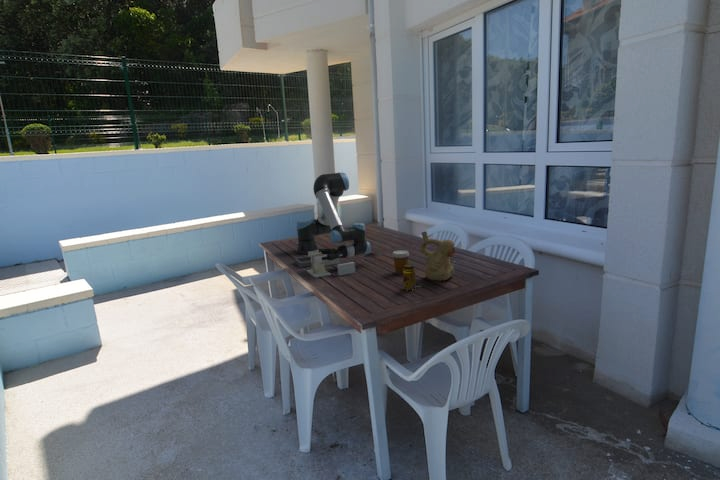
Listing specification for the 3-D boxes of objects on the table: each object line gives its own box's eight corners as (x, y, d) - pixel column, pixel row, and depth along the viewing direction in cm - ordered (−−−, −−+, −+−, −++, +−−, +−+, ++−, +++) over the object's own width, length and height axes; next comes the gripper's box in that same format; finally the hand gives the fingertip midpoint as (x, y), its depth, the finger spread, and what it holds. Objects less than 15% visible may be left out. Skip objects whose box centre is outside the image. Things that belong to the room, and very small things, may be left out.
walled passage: (323, 265, 267) (323, 255, 266) (338, 262, 271) (337, 253, 269) (339, 275, 244) (338, 265, 242) (355, 272, 248) (354, 262, 246)
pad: (306, 270, 257) (306, 270, 257) (321, 267, 261) (321, 267, 261) (314, 277, 243) (314, 277, 243) (331, 274, 247) (331, 274, 247)
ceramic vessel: (450, 284, 219) (449, 236, 213) (415, 279, 229) (413, 234, 223) (461, 274, 233) (461, 230, 227) (427, 270, 243) (426, 227, 237)
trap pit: (294, 262, 276) (294, 258, 275) (315, 259, 281) (315, 254, 280) (301, 268, 263) (300, 263, 262) (322, 264, 269) (322, 259, 268)
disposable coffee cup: (398, 276, 237) (398, 255, 234) (389, 272, 245) (389, 251, 242) (413, 272, 241) (412, 252, 238) (403, 268, 249) (403, 249, 247)
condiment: (400, 289, 216) (399, 266, 214) (409, 284, 223) (408, 262, 220) (412, 291, 212) (411, 268, 209) (421, 286, 218) (420, 264, 215)
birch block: (312, 271, 254) (310, 253, 251) (321, 270, 256) (320, 252, 253) (315, 274, 248) (313, 256, 246) (325, 272, 251) (323, 254, 248)
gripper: (354, 261, 246) (319, 268, 238) (338, 252, 269) (306, 258, 260) (353, 249, 245) (318, 255, 236) (337, 241, 267) (305, 246, 258)
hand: (312, 256), depth 248 cm, fingers open, 13 cm apart
